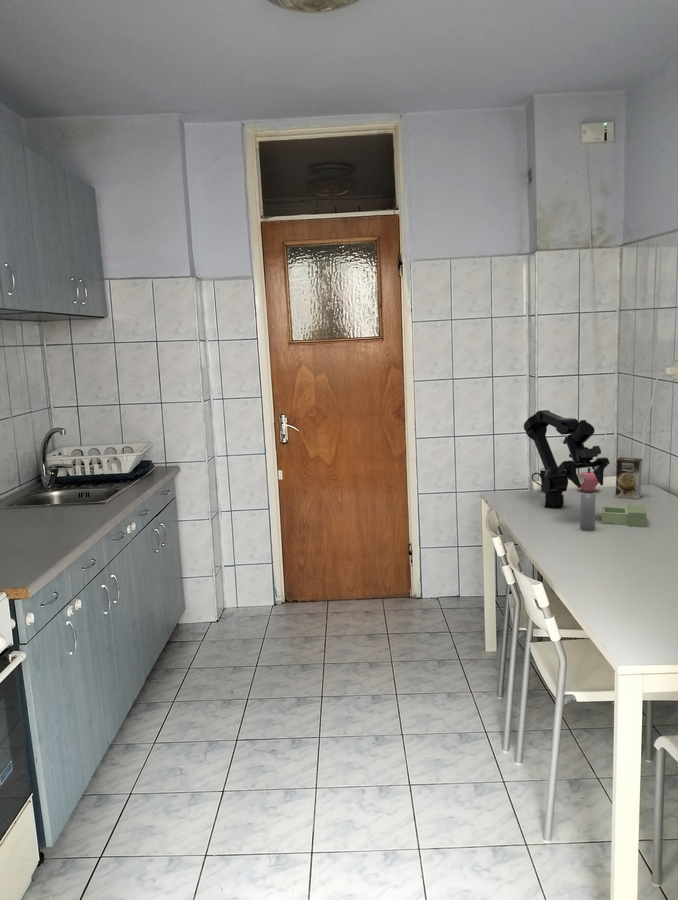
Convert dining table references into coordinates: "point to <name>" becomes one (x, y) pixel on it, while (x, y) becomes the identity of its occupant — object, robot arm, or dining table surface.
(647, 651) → the dining table surface
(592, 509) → the grey rounded post
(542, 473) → the coffee mug
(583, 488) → the apple
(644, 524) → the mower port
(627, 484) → the brown cookie box
